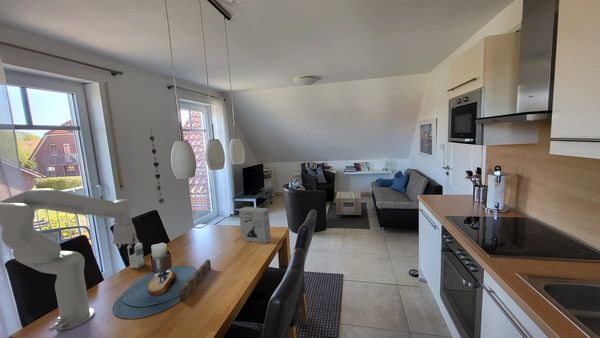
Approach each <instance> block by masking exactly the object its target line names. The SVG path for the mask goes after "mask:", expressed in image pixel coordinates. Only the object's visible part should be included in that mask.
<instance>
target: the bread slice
mask: <svg viewBox="0 0 600 338" xmlns="http://www.w3.org/2000/svg"><path fill="white" fill-rule="evenodd" d="M175 273H176V272H174V271H173V270H172V271H169V275H168V278H167V279H166V280H165V281H164V282H163V283H162V284H158V283H159V279H158V274H159V273H158V274H156V275H155V276H154V277H153V278H151V280H149V282H148V284H147V293H148V294H149V295H150V296H154V297H155V296H160V295H162V294H164V293H165V292H166V291H167V289H168V288H169V287H170V285H171V284H172V282H171V281H173V280H174V279H175ZM173 278H174V279H173ZM172 279H173V280H172ZM170 283H171V284H170Z"/></svg>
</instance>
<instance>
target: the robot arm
mask: <svg viewBox="0 0 600 338" xmlns="http://www.w3.org/2000/svg"><path fill="white" fill-rule="evenodd" d="M130 204H131V203H130V200H129V199H128V198H121V199H116V200H113V201H112V200H108V199H102V198H97V197H92V196H85V195H82V194H77V193H72V192H68V191H63V190H60V189H59V190H58V189H55V188H33V189H29V190H26V191H23V192H21V193H18V194H16V195H12V196H10V197H8V198H4V199H3V200H0V227H2V228H1V240H2V243H3V244H4V245H5V246H6V247H8V248H9V249H11V250H12V256H13V258H14V260H15V261H17V262H18V263H21V264H22V265H25V266H27V267H29V268H31V269H33V270H36V271H38V272H41V273H43V274H44V273H45V274H51V275H56V278H55V282H54V291H55V294H56V300H57V301H56V302H57V305H58V306H57V307H58V313H59V316H58V317H57V321H56V322H55V323H54V324H52V325H51V326H49V327H48V329H47V330H48V332H53V331H55V330H56V329H57V330H59V331H67V330H70V329H71V330H72V329H74V328H77V327H79V326H81V325H83V324H85V323H86V322H88V321H90V319H92V318H93V317H94V315H95V309H94V308H92V307H90V305H89V298H88V292H87V285H86V280H85V273H84V272H85V271H84V270H85V257H84V255H82V253H80V252H78V251H73V250H62V248H61V245H60V244H59V243H58V241H55V240H54V239H52V238H50V237H48V236H46V235H45V234H43V233H41V232H40V231H39V230H37V229H36V228H35V226H34V223H35V222H34V221H35V216H36V214H35V210H46V211H52V212H53V211H55V212H59V213H60V212H61V213H66V214H73V215H81V216H82V215H83V216H85V215H86V216H90V215H91V216H93V215H94V216H95V217H96V218H100V219H101V218H102V219H113V223H114V226H113V229H112V230H113V232H112V237H113V241H112V243H113V244H114V245H115V246H116V247H117V249H118V250H119V254H120V256H124V255H125V254H127V249H126V246H125V245H128V246H129V247H130V248H129V255H133V254H134V253H135V249H134V246H135V245H136V244H137V243H140V240H139V239H138V237H137V232H136V228H135V225H134V223H133V221H132V220H133V219H132V213H131V205H130ZM129 255H128V256H129Z"/></svg>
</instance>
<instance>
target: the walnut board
mask: <svg viewBox="0 0 600 338" xmlns="http://www.w3.org/2000/svg"><path fill="white" fill-rule="evenodd" d="M211 264H212V263H211V259H206V260H205V261H204V262H203V263H202V264H201V265H200V267H199V268H198V269H196V271H195V272H194V273H193V274H192V275H191V276H190V277H189V278H188V279H187V280H186V282H184V284H183V285H182V286H181V287H180V288H179V289H178V293H179V301H180V302H185V301H186V299H188V297H189V296H191V294H192V292H194V290H195V289H196V288H197V287H198V286H199V284H201V282H202V281H203V280H204V278H205V277H206V276H207V274H209V272H210V271H211V270H212V267H211V266H212V265H211Z"/></svg>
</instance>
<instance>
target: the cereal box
mask: <svg viewBox="0 0 600 338" xmlns="http://www.w3.org/2000/svg"><path fill="white" fill-rule="evenodd" d="M238 211H239V213H238V214H239V226H240V235H241V237H240V238H241V241H242V240H244V241H243V242H246V241H252V242H251V243H254V242H260V243H259V244H261V243H266V244H268V243H269V242H270V241H271V240H270V239H271V228H270V227H271V226H270V225H271V224H270V209H269V208H267V207H265V208H264V207H252V206H250V207H249V206H244V207H242V208H240V209H238ZM269 240H270V241H269ZM268 241H269V242H268ZM267 242H268V243H267Z"/></svg>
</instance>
